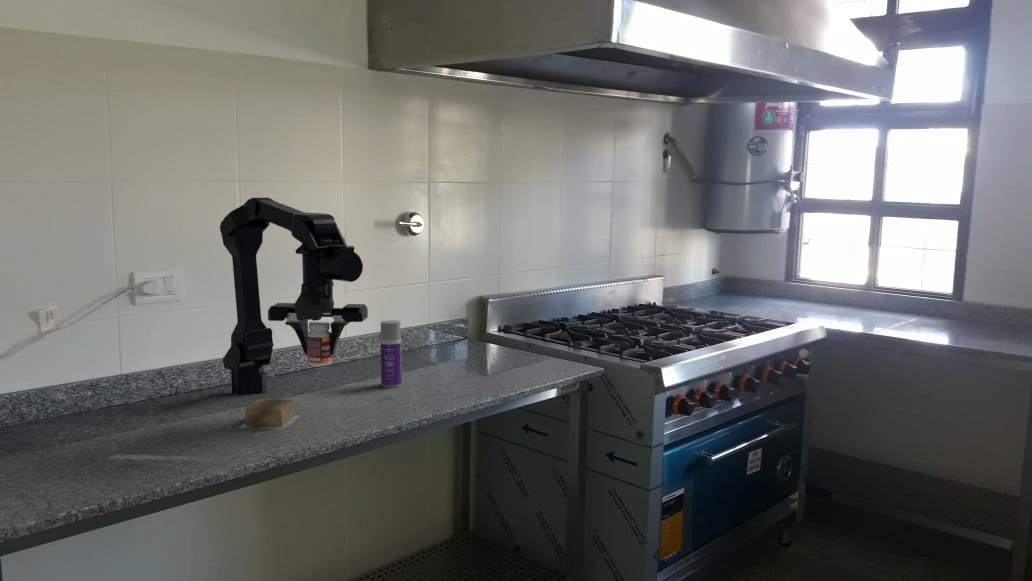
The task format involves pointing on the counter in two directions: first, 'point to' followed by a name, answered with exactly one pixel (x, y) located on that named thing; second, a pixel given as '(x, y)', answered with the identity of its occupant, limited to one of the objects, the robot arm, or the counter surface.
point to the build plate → (273, 427)
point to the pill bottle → (319, 344)
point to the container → (390, 354)
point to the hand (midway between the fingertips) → (319, 354)
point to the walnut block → (269, 413)
